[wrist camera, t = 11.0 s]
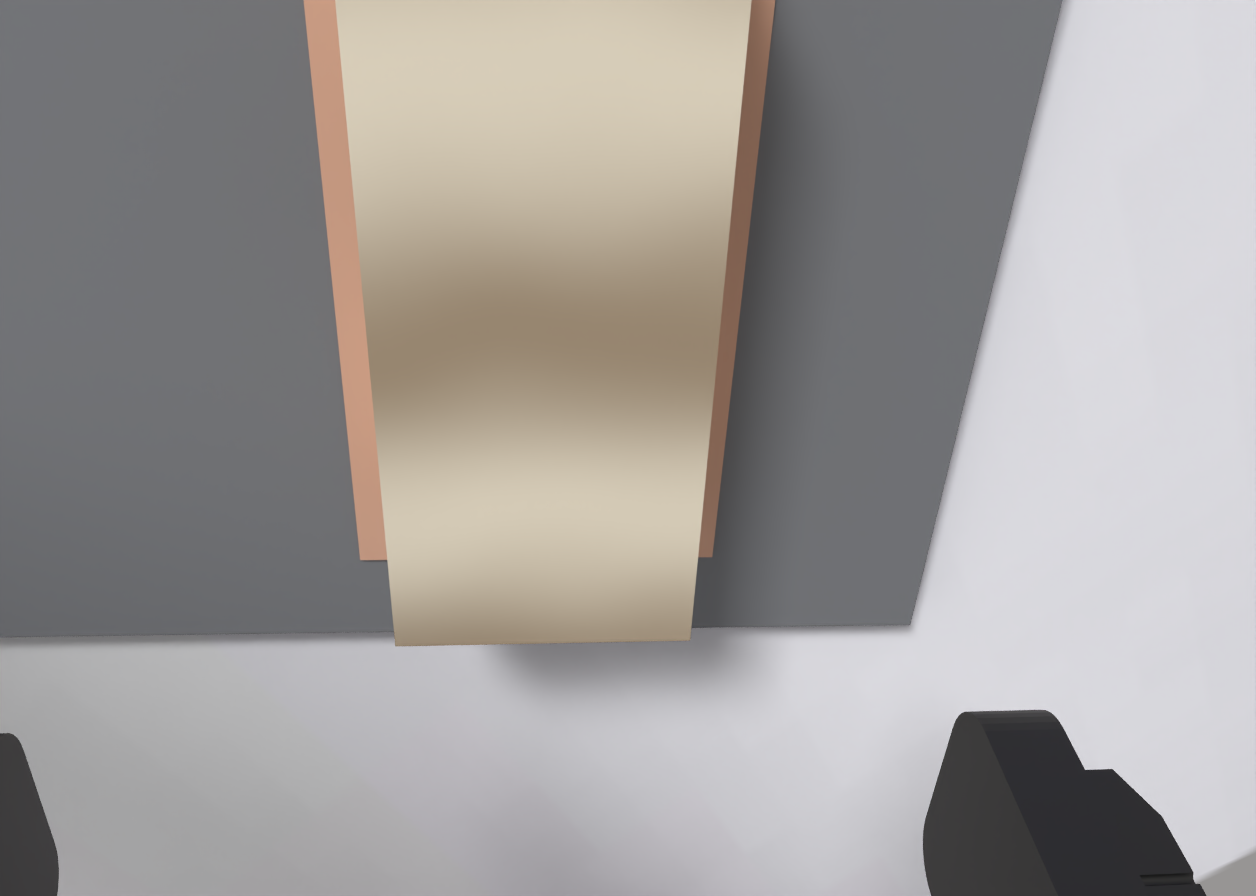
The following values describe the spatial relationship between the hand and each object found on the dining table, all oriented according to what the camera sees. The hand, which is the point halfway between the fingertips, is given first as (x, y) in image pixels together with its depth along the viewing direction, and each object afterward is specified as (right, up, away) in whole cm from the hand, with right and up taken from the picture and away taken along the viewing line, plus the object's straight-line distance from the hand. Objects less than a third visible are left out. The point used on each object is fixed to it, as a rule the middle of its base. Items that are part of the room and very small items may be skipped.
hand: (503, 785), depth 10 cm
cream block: (0, +7, +9) cm, 11 cm away
